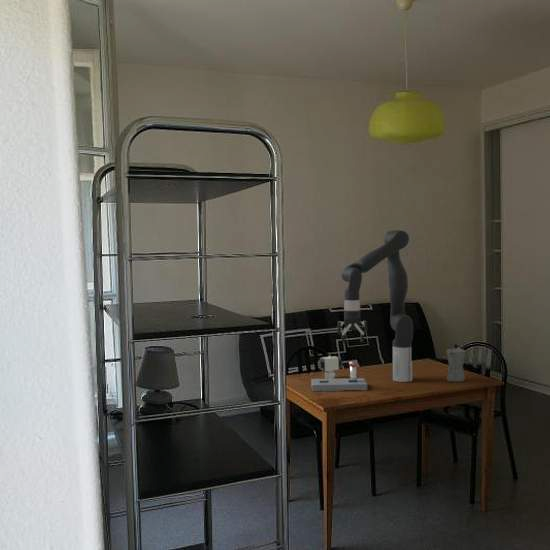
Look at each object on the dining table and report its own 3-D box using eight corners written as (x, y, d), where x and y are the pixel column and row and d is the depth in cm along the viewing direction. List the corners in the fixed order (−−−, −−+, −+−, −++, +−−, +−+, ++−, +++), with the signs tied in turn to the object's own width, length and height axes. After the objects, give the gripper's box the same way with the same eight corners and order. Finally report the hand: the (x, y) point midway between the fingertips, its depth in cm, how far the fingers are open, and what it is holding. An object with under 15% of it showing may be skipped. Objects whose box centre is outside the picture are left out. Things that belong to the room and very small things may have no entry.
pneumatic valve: (342, 378, 320) (342, 355, 319) (321, 380, 316) (320, 357, 316) (338, 376, 325) (337, 353, 324) (317, 378, 322) (316, 355, 321)
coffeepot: (461, 384, 304) (461, 347, 302) (442, 381, 309) (442, 345, 308) (470, 377, 317) (470, 342, 315) (451, 375, 322) (451, 340, 320)
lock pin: (357, 386, 304) (356, 360, 303) (357, 388, 300) (357, 362, 299) (348, 386, 304) (348, 361, 303) (349, 388, 300) (349, 362, 299)
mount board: (364, 384, 308) (364, 378, 307) (367, 390, 296) (367, 384, 295) (311, 384, 308) (311, 378, 308) (312, 391, 296) (312, 385, 296)
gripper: (366, 307, 303) (366, 340, 304) (336, 308, 303) (337, 341, 304) (368, 309, 295) (368, 343, 296) (337, 310, 295) (338, 344, 296)
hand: (352, 342), depth 300 cm, fingers open, 8 cm apart
